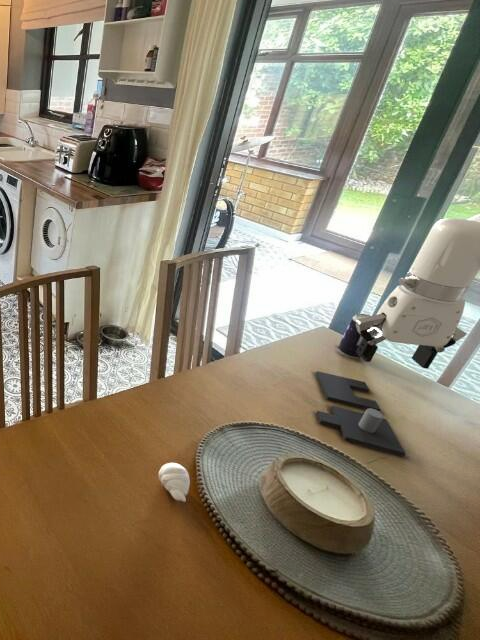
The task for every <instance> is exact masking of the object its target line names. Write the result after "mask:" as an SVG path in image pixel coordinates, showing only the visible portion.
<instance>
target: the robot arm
mask: <svg viewBox="0 0 480 640" xmlns="http://www.w3.org/2000/svg"><path fill="white" fill-rule="evenodd" d="M479 271H480V213H479V214H476V215H474V216H472V217H470V218H468V219H466V218H456V217H448V218H447V217H446V218H443V219H442V218H441V219H440V220H438V221H436V222H435V223H434V224H433V225H432V227H431V229H430V231H429V232H428V234H427V237H426V238H425V240H424V242H423V243H422V246H421V248H420V250H419V251H418V253H417V255H416V257H415V259H414V261H413V262H412V264H411V266H410V268H409V270H408V272H407V273H406V275H405V277H399V279H398V281H397V283H398V284H399V285H397V286H396V287H395V288H394V290H393V291H391V293H390V294H389V295H388V296H387V297H386V299H384V302H383V303H382V304H381V306H380V308H379V309H378V311H377V313H376V314H375V315H370V317H365V318H361V319H357V320H356V321H355V322H356V327H357V332H358V333H359V334H360V336H361V337H362V338H363V339H362V341H361V343H360V345H359V346H358V348H357V351H356V353H357V354H358V355H359V356H360V357H361V358H360V359H362V360H363V361H364V362H365V363H370V362H371V361H372V359H373V357H374V356H375V354H376V352H377V351H378V349H379V346H378V344H380V343H382V342H384V341H388V342H391V343H396V344H405V345H415V346H417V348H416V350H415V351H414V353H413V354H412V356H411V359H412V360H413V361H414V362H415V363H416V364H417V365H418V366H419V367H421V368H422V369H429V368H430V367H431V365H432V363H433V361H434V360H435V358H436V357H437V355H438V354H439V353H443V352H445V350H446V348H450V347H452V346H455V345H456V343H457V342H458V341H460V340H461V339H463V338H465V337H466V336H467V332H465V331H464V330H463V329H461V328H460V327H458V326H459V324H460V322H461V319H462V317H463V314H464V311H465V306H466V300H465V298H464V295H466V293H467V291H468V290H469V288H470V286H471V285H472V283H473V281H474V280H475V278H476V277H477V275H478V273H479ZM369 326H372V328H370V329H368V327H369ZM374 334H376V335H375V337H372V335H374Z"/></svg>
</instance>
